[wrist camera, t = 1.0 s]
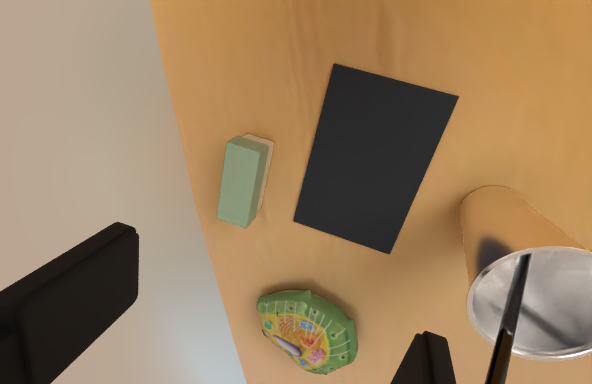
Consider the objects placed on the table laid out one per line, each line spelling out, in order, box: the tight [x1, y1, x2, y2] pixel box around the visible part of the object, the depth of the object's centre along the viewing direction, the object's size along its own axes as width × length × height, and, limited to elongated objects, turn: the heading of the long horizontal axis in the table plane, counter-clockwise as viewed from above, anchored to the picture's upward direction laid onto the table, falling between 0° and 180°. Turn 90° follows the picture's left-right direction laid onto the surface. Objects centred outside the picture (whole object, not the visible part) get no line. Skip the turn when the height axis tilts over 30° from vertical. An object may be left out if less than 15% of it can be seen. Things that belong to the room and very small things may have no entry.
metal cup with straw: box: [459, 186, 592, 384], centre depth 24 cm, size 11×11×30 cm
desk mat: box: [293, 64, 459, 254], centre depth 38 cm, size 20×13×1 cm, turn 167°
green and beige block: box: [217, 134, 274, 229], centre depth 40 cm, size 10×4×6 cm, turn 167°
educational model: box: [257, 289, 358, 375], centre depth 47 cm, size 13×16×6 cm
